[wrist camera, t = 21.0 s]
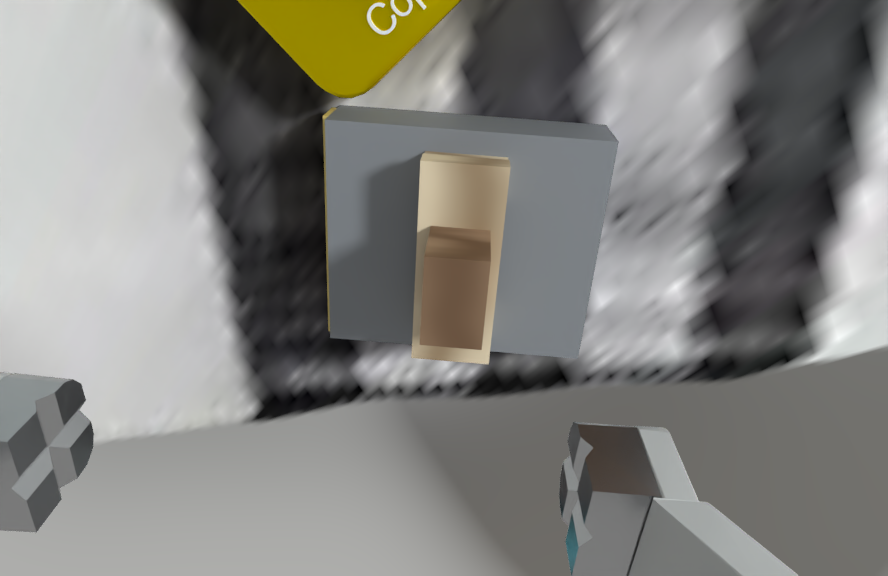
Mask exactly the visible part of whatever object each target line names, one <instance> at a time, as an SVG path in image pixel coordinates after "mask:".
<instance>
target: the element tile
mask: <svg viewBox="0 0 888 576" xmlns="http://www.w3.org/2000/svg"><path fill="white" fill-rule="evenodd" d="M237 1H238V2H239V3H240V4H241V5H242V6H243V7H244V8H245V9H246V10H247V11H248V12H249V13H250V14H251V15H252V16H253V17H254V19H255V20H256V21H257V22H258V23H259V24H260V25H261V26H262V27H263V28H264V29H265V30H266V31H267V32H268V33H269V34H270V35H271V36H272V37H273V39H274V40H275V41H276V42H277V43H278V44H279V45H280V46H281V47H282V48H283V49H284V50H285V51H286V52H287V53H288V54H289V55H290V56H291V58H292V59H293V60H294V61H295V62H296V63H297V64H298V65H299V66H300V67H301V68H302V69H303V70H304V71H305V72H306V73H307V74H308V75H309V76H310V78H311V79H312V80H313V81H314V82H315V83H316V84H317V85H318V86H320V87H321V88H322V89H324V90H325V91H326V92H328V93H331V94H333V95H335V96H337V97H340V98H354V97H356V96H359V95H362V94H365V93H366V92H367V91H369V90H370V89H372V88H373V87H374V86H375V85H376V84H377V83H378V82H379V81H380V80H381V79H382V78H383V77H384V76H385V75H386V74H388V73H389V72H390V71H391V70H392V69H393V68H394V67H395V66H396V65H397V64H398V63H399V62H400V61H401V60H402V59H403V58H404V57H405V56H406V55H407V54H408V53H409V52H410V51H411V50H412V49H413V48H414V47H415V46H416V45H417V44H418V43H419V42H420V41H421V40H422V39H423V38H424V37H425V36H426V35H427V34H428V33H429V32H430V31H431V30H432V29H433V28H434V27H435V26H436V25H437V24H438V23H439V22H440V21H441V20H442V19H443V18H444V17H445V16H446V15H447V14H448V13H449V12H450V11H451V10H452V9H453V8H454V7H455V6H456V5H457V4H458V3H459V2H460V1H461V0H237Z"/></svg>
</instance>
